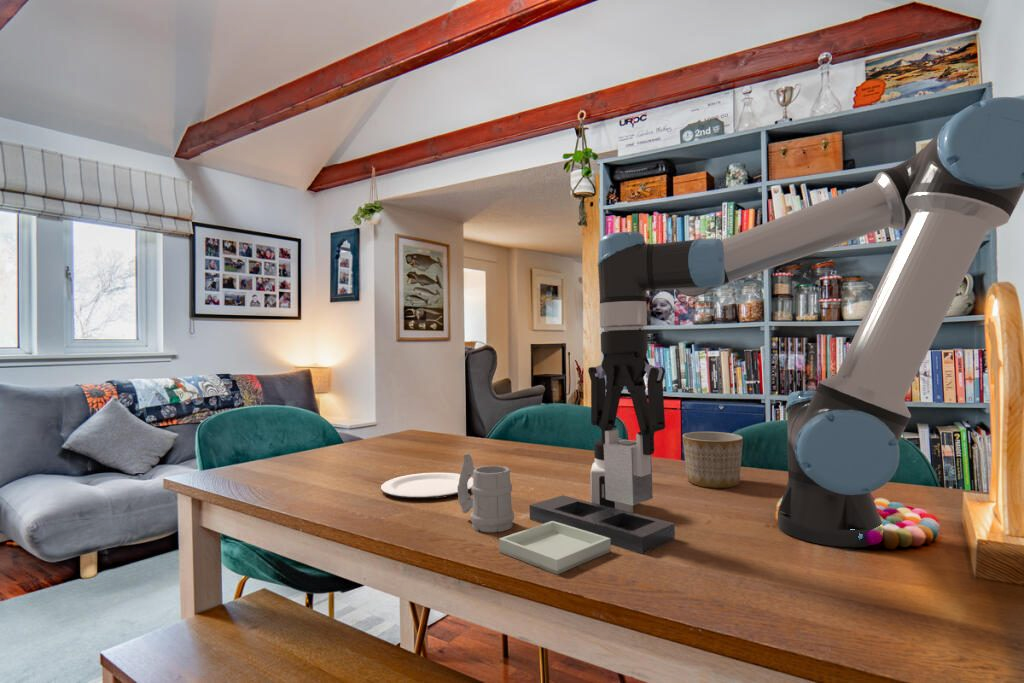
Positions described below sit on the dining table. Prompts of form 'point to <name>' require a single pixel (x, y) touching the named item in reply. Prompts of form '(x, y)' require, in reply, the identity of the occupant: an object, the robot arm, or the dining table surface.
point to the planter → (713, 458)
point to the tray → (554, 546)
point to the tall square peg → (625, 474)
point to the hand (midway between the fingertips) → (628, 471)
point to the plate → (424, 485)
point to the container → (602, 481)
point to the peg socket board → (606, 522)
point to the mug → (486, 496)
